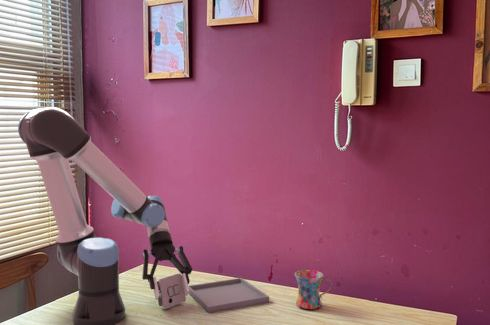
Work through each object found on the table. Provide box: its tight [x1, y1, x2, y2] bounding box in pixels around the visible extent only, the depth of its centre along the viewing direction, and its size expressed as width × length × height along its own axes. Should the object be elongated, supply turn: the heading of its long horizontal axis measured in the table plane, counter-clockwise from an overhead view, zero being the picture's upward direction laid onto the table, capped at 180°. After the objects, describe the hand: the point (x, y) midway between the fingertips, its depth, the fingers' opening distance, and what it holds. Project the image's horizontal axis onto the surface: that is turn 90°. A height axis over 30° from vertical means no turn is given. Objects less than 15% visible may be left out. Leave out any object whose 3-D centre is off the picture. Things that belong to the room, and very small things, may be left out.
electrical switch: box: [157, 273, 187, 310], centre depth 147 cm, size 9×5×9 cm, turn 141°
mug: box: [294, 269, 333, 310], centre depth 147 cm, size 12×9×11 cm
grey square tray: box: [188, 277, 270, 314], centre depth 155 cm, size 22×22×2 cm
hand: (172, 295), depth 143 cm, fingers closed on electrical switch, 9 cm apart
